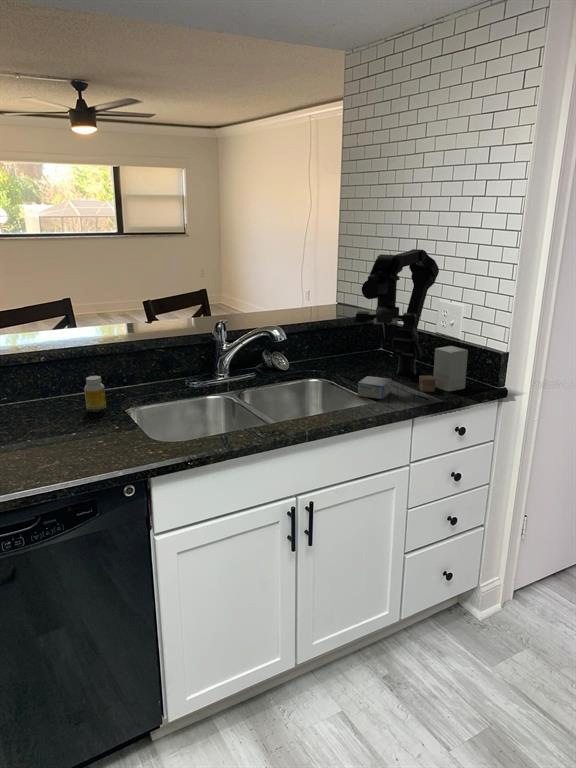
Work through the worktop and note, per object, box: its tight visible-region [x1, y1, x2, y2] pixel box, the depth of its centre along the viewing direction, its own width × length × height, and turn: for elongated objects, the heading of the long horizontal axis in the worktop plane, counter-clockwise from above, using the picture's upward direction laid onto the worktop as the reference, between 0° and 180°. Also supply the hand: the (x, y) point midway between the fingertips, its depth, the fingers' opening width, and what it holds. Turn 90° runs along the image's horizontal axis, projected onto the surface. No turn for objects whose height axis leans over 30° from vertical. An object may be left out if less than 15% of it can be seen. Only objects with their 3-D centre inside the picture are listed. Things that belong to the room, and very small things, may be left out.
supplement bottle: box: [83, 375, 107, 411], centre depth 159 cm, size 5×5×10 cm
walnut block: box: [418, 375, 436, 393], centre depth 178 cm, size 4×4×4 cm
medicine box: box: [357, 375, 392, 400], centre depth 173 cm, size 8×4×9 cm
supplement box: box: [432, 345, 469, 392], centre depth 179 cm, size 7×7×13 cm
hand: (384, 344), depth 181 cm, fingers closed
